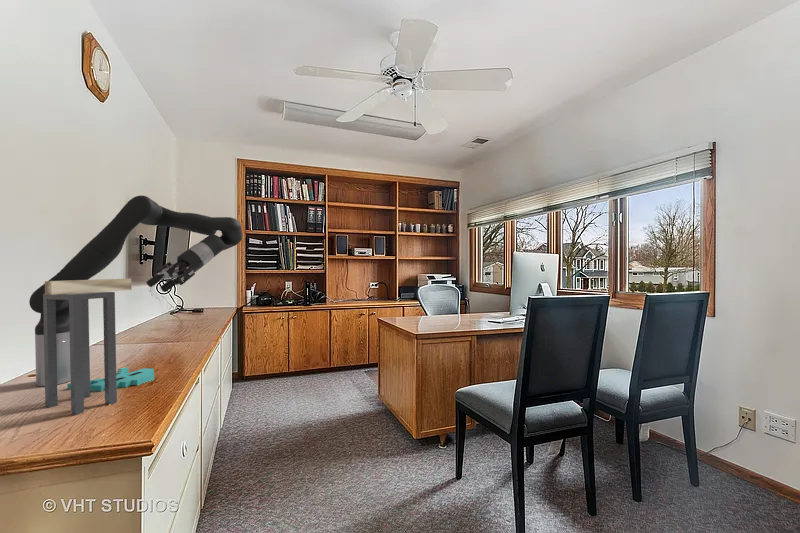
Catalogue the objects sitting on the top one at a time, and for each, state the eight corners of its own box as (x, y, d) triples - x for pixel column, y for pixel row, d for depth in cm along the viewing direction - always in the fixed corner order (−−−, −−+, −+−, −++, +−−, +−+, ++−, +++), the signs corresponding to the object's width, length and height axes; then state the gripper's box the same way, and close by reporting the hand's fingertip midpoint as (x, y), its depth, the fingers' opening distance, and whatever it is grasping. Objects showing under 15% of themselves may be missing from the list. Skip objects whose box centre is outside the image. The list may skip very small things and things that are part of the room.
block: (44, 294, 103) (44, 281, 103) (124, 289, 121) (124, 278, 121) (51, 294, 102) (51, 281, 102) (131, 289, 120) (131, 278, 120)
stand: (45, 406, 108) (43, 293, 108) (86, 395, 117) (84, 291, 117) (75, 415, 101) (72, 294, 101) (116, 402, 110) (114, 291, 110)
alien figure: (67, 390, 123) (118, 393, 119) (67, 383, 123) (118, 386, 119) (123, 373, 143) (169, 375, 139) (123, 367, 143) (169, 369, 139)
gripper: (178, 246, 134) (136, 274, 124) (202, 251, 127) (160, 282, 117) (189, 262, 139) (150, 291, 129) (213, 269, 132) (174, 300, 122)
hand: (155, 287), depth 123 cm, fingers open, 8 cm apart
